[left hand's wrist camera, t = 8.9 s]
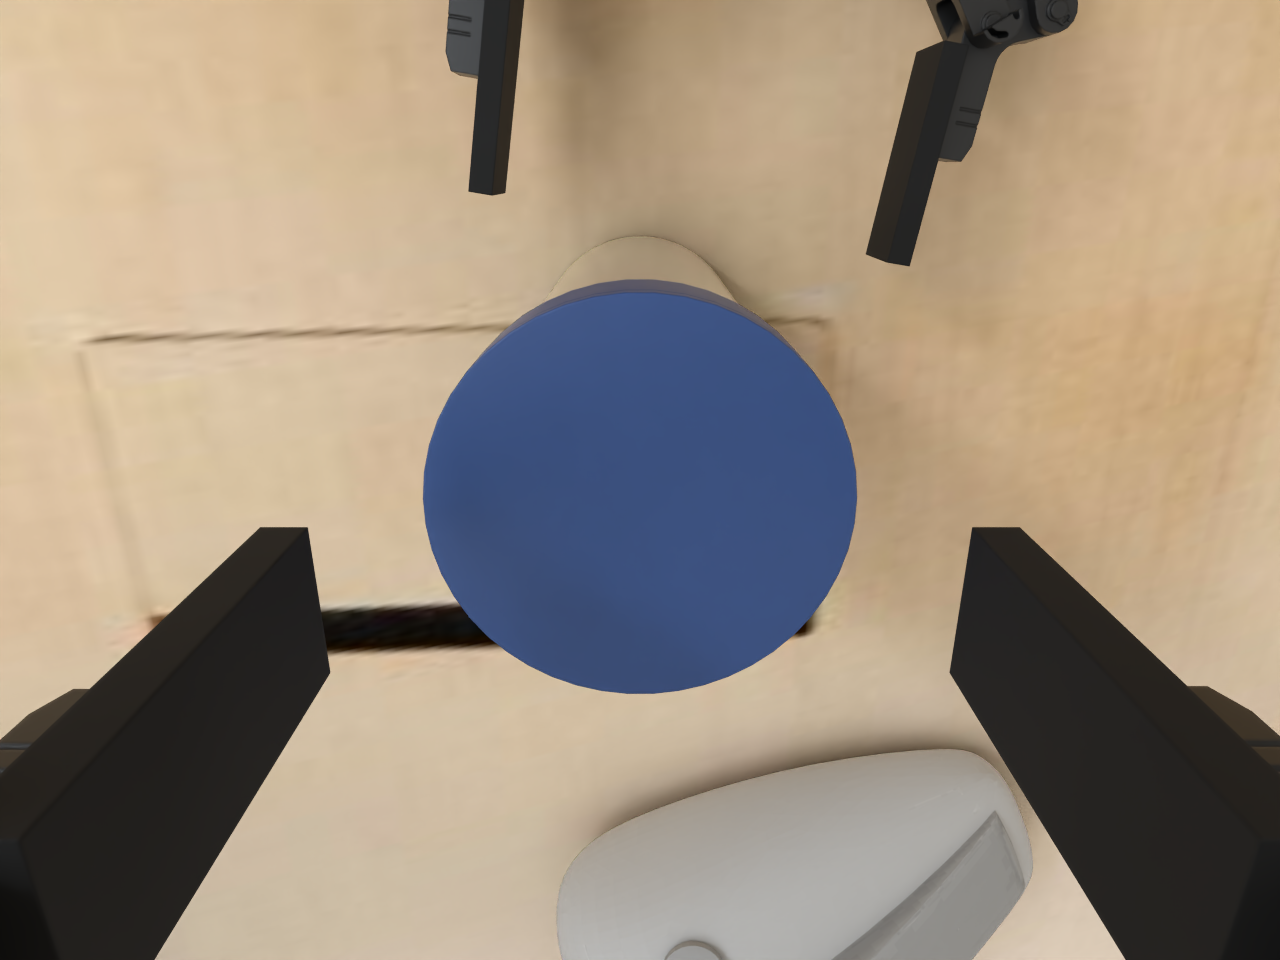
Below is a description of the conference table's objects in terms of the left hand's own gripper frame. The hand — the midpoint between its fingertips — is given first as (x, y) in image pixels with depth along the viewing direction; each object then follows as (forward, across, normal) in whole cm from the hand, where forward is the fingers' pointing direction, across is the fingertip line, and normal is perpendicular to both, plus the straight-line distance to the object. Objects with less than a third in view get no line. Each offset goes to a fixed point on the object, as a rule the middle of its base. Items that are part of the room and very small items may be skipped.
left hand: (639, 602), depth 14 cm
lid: (+4, 0, 0) cm, 4 cm away
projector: (+23, +8, -28) cm, 37 cm away
